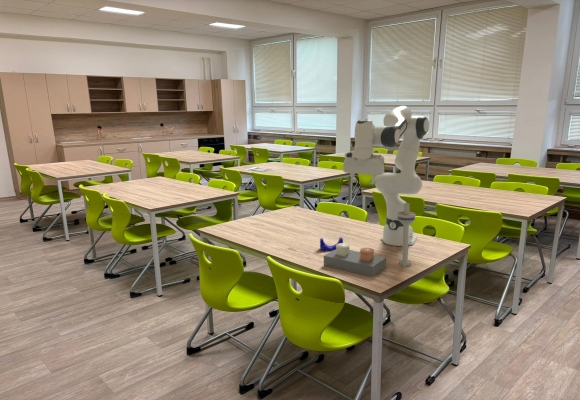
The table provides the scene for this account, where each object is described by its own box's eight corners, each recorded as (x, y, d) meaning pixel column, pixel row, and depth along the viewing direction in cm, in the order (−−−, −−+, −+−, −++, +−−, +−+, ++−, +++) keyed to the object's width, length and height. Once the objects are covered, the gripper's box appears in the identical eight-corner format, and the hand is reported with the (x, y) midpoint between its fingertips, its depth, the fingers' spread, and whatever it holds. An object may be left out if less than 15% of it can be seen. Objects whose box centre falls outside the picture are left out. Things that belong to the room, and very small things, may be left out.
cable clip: (321, 251, 220) (320, 240, 219) (320, 248, 225) (320, 238, 223) (343, 250, 221) (343, 239, 220) (342, 247, 225) (341, 237, 224)
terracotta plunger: (363, 258, 197) (364, 246, 196) (376, 261, 194) (376, 249, 192) (357, 262, 192) (357, 250, 191) (370, 265, 189) (370, 253, 187)
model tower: (417, 266, 195) (419, 204, 189) (402, 268, 193) (404, 206, 186) (407, 260, 203) (408, 201, 197) (392, 263, 200) (393, 202, 194)
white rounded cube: (340, 253, 205) (340, 242, 204) (351, 256, 201) (351, 244, 200) (333, 257, 200) (333, 245, 199) (345, 260, 196) (345, 248, 195)
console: (338, 257, 211) (338, 247, 210) (386, 267, 195) (386, 257, 194) (323, 265, 200) (323, 255, 199) (372, 277, 184) (372, 266, 183)
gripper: (387, 154, 191) (386, 184, 193) (348, 152, 203) (347, 180, 206) (381, 155, 186) (380, 185, 189) (341, 153, 198) (341, 182, 201)
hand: (363, 183), depth 197 cm, fingers open, 8 cm apart
